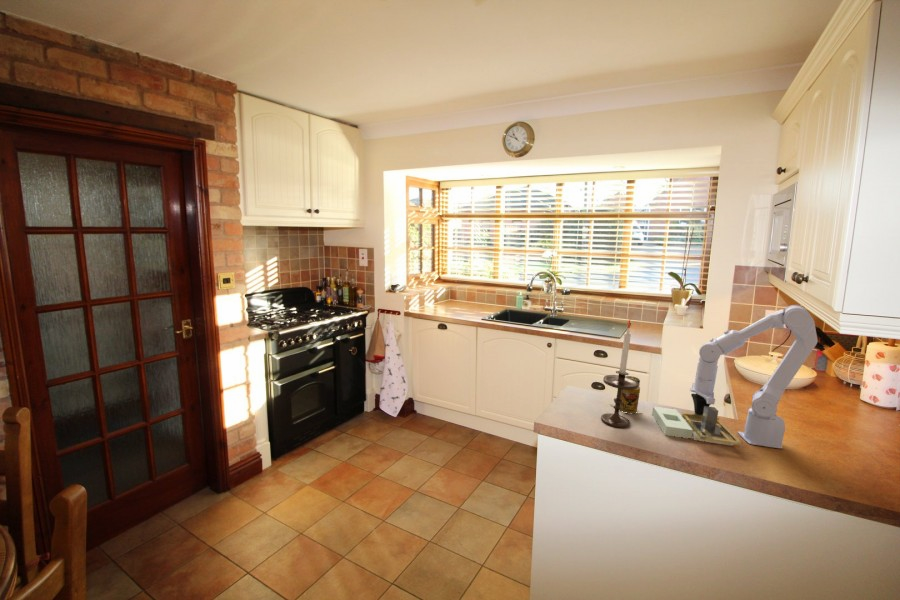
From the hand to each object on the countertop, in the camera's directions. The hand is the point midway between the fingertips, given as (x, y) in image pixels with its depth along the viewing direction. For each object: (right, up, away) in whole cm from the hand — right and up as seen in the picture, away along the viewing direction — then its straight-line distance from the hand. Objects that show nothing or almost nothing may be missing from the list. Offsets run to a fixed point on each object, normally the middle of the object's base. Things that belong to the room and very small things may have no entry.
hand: (698, 416), depth 145 cm
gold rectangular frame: (-2, -2, -9) cm, 10 cm away
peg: (-2, -4, -7) cm, 8 cm away
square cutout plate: (-11, -3, -3) cm, 12 cm away
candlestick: (-29, -1, -2) cm, 29 cm away
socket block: (-2, -4, -7) cm, 8 cm away
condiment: (-21, 0, +9) cm, 23 cm away
